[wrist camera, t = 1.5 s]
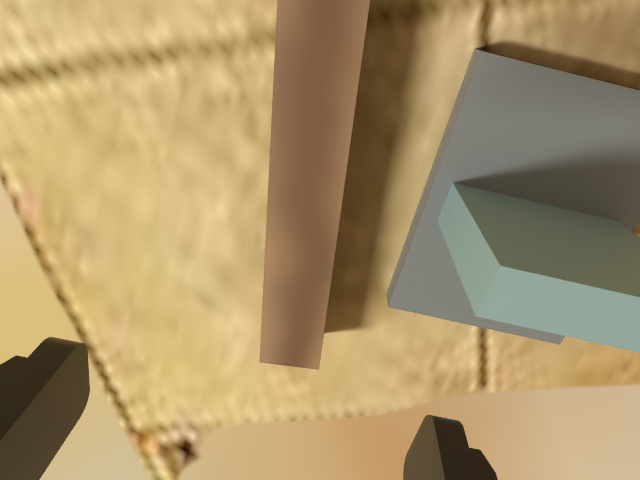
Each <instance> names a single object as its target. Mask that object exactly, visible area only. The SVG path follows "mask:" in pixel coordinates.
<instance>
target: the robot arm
mask: <svg viewBox="0 0 640 480" xmlns="http://www.w3.org/2000/svg"><path fill="white" fill-rule="evenodd" d="M89 391H90V385H89V369H88V351H87V346H86V345H85V344H84V343H79V342H74V341H69V340H64V339H59V338H54V337H49V338H47V339H45V340H44V341H43V342H42V343H41V344H40V345H39V346H38V347H37V348H36V349H35V350H34V351H33V353H32V354H31V355H30V356H29V357H28V358H26V357H21V356H15V357H13V358H11V359H10V360H8V361H6V362H5V363H3V364H1V365H0V480H39V479H40V478H41V476H42V475H43V473H44V472H45V470H46V469H47V467H48V466H49V464H50V463H51V461H52V459H53V458H54V456H55V455H56V453H57V452H58V450H59V449H60V447H61V446H62V444H63V443H64V441H65V440H66V438H67V437H68V435H69V433H70V432H71V430H72V429H73V428H74V426H75V425H76V423H77V421H78V420H79V418H80V417H81V415H82V413H83V411H84V409H85V407H86V404H87V401H88V397H89ZM403 474H404V475H403V476H404V477H403V479H404V480H498V479H497V476H496V473H495V471H494V470H493V468H492V467H491V465H490V464H489V462H488V461H487V459H486V458H485V456H484V455H483V453H482V452H481V450H478V449H473V448H469V446H468V442H467V439H466V435H465V431H464V428H463V425H462V424H461V422H459V421H457V420H452V419H447V418H442V417H437V416H432V415H427V416H426V417H425V418H424V420H423V422H422V424H421V426H420V428H419V430H418V432H417V434H416V436H415V438H414V440H413V442H412V444H411V447H410V449H409V451H408V452H407V455H406V459H405V463H404V473H403Z"/></svg>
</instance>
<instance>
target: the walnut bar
mask: <svg viewBox="0 0 640 480" xmlns="http://www.w3.org/2000/svg"><path fill="white" fill-rule="evenodd" d="M369 5H370V0H278V1H277V21H276V41H275V61H274V81H273V102H272V122H271V142H270V162H269V182H268V203H267V223H266V243H265V263H264V283H263V304H262V324H261V344H260V362H261V363H269V364H277V365H286V366H294V367H302V368H310V369H318V370H319V366H320V359H321V351H322V344H323V337H324V330H325V322H326V315H327V308H328V301H329V294H330V286H331V279H332V272H333V265H334V257H335V250H336V243H337V236H338V228H339V221H340V214H341V207H342V200H343V192H344V185H345V178H346V171H347V163H348V156H349V149H350V142H351V135H352V127H353V120H354V113H355V106H356V98H357V91H358V84H359V77H360V70H361V62H362V55H363V48H364V41H365V33H366V26H367V19H368V12H369Z"/></svg>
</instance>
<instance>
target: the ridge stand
mask: <svg viewBox="0 0 640 480" xmlns="http://www.w3.org/2000/svg"><path fill="white" fill-rule="evenodd" d="M639 220H640V90H637V89H633V88H629V87H625V86H621V85H617V84H613V83H609V82H605V81H601V80H597V79H593V78H589V77H585V76H581V75H577V74H573V73H569V72H565V71H561V70H557V69H553V68H549V67H545V66H541V65H537V64H533V63H529V62H525V61H521V60H517V59H513V58H509V57H505V56H501V55H497V54H493V53H489V52H485V51H481V50H477V49H475V50H474V52H473V55H472V58H471V61H470V63H469V66H468V69H467V72H466V75H465V77H464V80H463V83H462V86H461V88H460V91H459V94H458V97H457V100H456V102H455V105H454V108H453V111H452V113H451V116H450V119H449V122H448V125H447V127H446V130H445V133H444V136H443V138H442V141H441V144H440V147H439V149H438V152H437V155H436V158H435V161H434V163H433V166H432V169H431V172H430V174H429V177H428V180H427V183H426V186H425V188H424V191H423V194H422V197H421V199H420V202H419V205H418V208H417V211H416V213H415V216H414V219H413V222H412V224H411V227H410V230H409V233H408V236H407V238H406V241H405V244H404V247H403V249H402V252H401V255H400V258H399V261H398V263H397V266H396V269H395V272H394V274H393V277H392V280H391V283H390V286H389V288H388V291H387V302H388V307H391V308H396V309H400V310H405V311H409V312H414V313H418V314H423V315H428V316H432V317H437V318H441V319H446V320H450V321H455V322H459V323H464V324H469V325H473V326H478V327H482V328H487V329H491V330H496V331H500V332H505V333H510V334H514V335H519V336H523V337H528V338H532V339H537V340H541V341H546V342H550V343H555V344H560V343H561V342H562V340H563V339H564V337H565V336H567V337H572V338H576V339H581V340H585V341H590V342H595V343H599V344H604V345H608V346H613V347H617V348H622V349H626V350H631V351H635V352H640V238H639V237H638V236H637V235H636V234H634V233H633V232H632V231H633V229H634V228H635V226H636V225H637V223H638V222H639Z"/></svg>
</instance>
